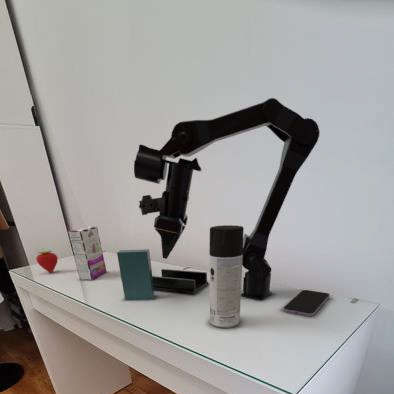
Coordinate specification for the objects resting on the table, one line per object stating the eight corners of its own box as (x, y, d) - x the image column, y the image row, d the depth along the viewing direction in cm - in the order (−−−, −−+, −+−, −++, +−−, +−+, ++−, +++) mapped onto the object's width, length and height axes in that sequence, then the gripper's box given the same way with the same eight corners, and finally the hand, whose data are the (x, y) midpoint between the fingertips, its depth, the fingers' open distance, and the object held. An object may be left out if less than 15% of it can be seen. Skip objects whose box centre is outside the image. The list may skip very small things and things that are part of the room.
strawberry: (63, 272, 113) (56, 245, 108) (43, 276, 109) (35, 248, 104) (58, 269, 117) (51, 244, 112) (38, 273, 113) (30, 247, 108)
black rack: (208, 284, 90) (208, 271, 88) (193, 295, 82) (192, 281, 80) (165, 280, 97) (163, 268, 95) (146, 289, 88) (145, 277, 86)
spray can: (221, 314, 69) (221, 224, 59) (245, 320, 65) (250, 225, 55) (204, 324, 64) (201, 228, 54) (229, 331, 60) (231, 229, 50)
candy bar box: (95, 272, 111) (85, 226, 103) (107, 272, 110) (98, 226, 102) (79, 280, 101) (67, 230, 93) (92, 280, 100) (80, 230, 92)
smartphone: (281, 308, 68) (302, 289, 78) (281, 312, 69) (302, 293, 79) (312, 314, 64) (330, 293, 74) (312, 318, 65) (330, 297, 75)
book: (152, 299, 80) (147, 251, 74) (125, 300, 81) (116, 252, 74) (154, 295, 83) (149, 249, 76) (127, 296, 83) (120, 250, 77)
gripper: (151, 181, 76) (144, 241, 84) (135, 180, 60) (128, 255, 67) (192, 191, 76) (182, 250, 84) (187, 193, 60) (174, 265, 68)
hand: (167, 254), depth 76 cm, fingers open, 9 cm apart
